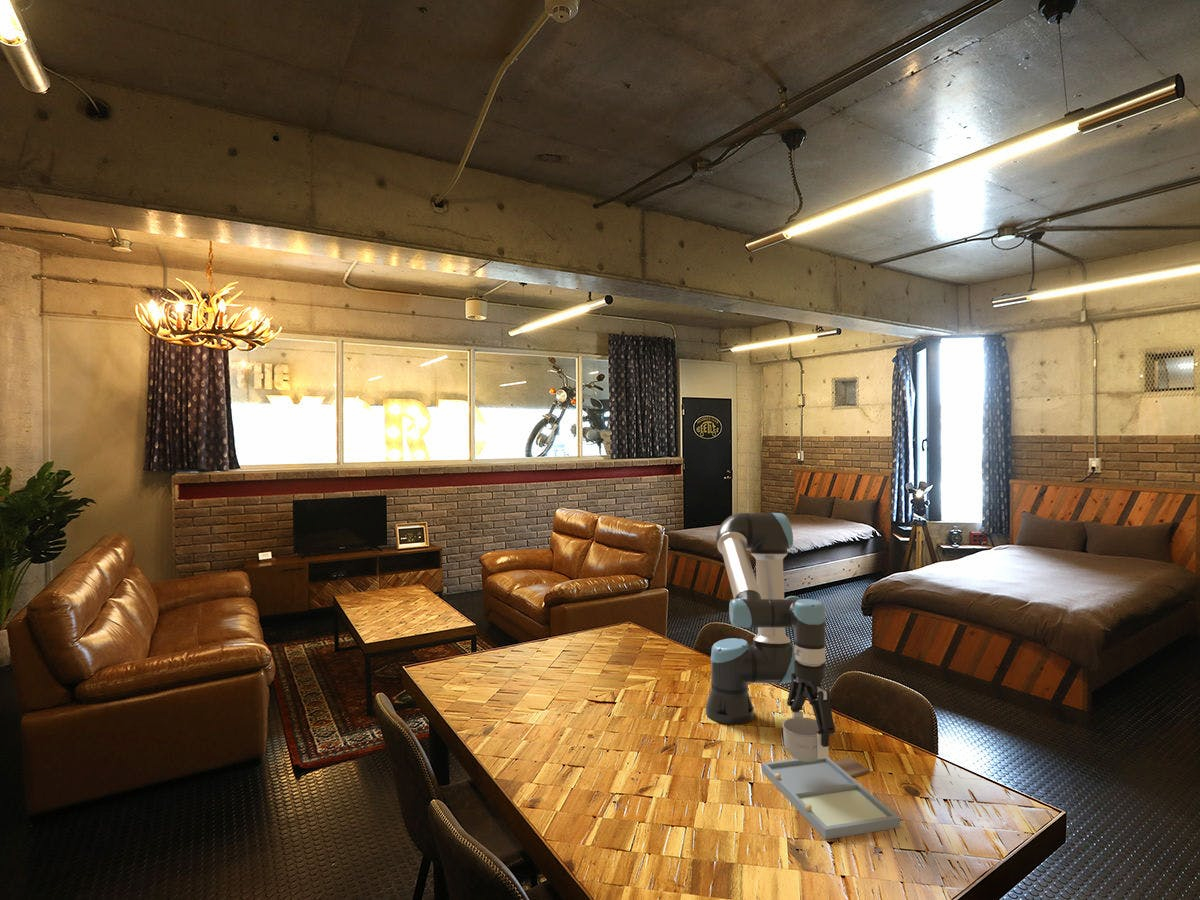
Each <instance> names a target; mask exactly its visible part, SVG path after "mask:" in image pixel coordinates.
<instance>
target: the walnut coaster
mask: <svg viewBox="0 0 1200 900" xmlns="http://www.w3.org/2000/svg"><path fill="white" fill-rule="evenodd" d="M833 762H835V763H836V764H837V765H838V766H839V767H841V768H842V769H843V770H844V771H845V772H846V773H848V774H849V775H850V776H851V777H852V778H854V777H857V776H860V775H863V774H864V775H865V774H867V773H870V769H869V768H867V767H866V766H864V765H863V764H861V763H859V762H858V761H856V760H854V759H853V758H851V757H849V756H848V757H845V758H841V759H838V760H834V761H833Z"/></svg>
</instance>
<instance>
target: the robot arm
mask: <svg viewBox="0 0 1200 900" xmlns="http://www.w3.org/2000/svg"><path fill="white" fill-rule="evenodd" d="M793 534H794V532H793V528H792V524H791V522H790V520H789V518H788V516H787V515H785V514H784V513H780V512H738V513H734V514H731V515H730V516H728V517H727V518H726V519H724V521H723V522H722V523H720V526H719V527H718V529H717V533H716V536H715V537H716V538H715V543H716V546H717V551H718V552H719V554H721V555H722V557H723V558H722V559H723V561H724V566H725V569H726V573H727V577H728V581H729V585H730V590H731V593H732V597H733V598H732V599H730V601H729V606H728V607H729V608H728V615H729V622H730V624H731V625H732V626H733V627H737V628H746V629H751V628H754V629H755V628H757V633H756V635H755V636H754V637H753V639H752V640H753V644H749V643H748V641H747V640H746V639H743V638H737V637H736V638H734V637H733V638H732V637H731V638H724V639H720V640H718V641H716V642H714V643H713V645H712V646H711V652H710V653H711V655H710V667H711V669H710V674H711V676H710V677H711V678H710V679H711V680H710V683H711V685H710V687H711V688H710V692H709V694H708V697H707V700H706V704H705V715H706V716H707V717H708V718H709V717H710V720H713V721H715V722H718V723H721V724H726V725H727V724H728V725H741V724H747V723H749V722H751V721H752V720H753V719H754V717H755V716H754V715H755V713H754V712H755V711H754V706H753V703H752V700H751V696H750V693H749V684H765V683H766V684H777V685H779V684H788V683H790V687H789V691H788V697H787V701H786V704H787V707H790V711H791V713H792V715H791V718H796V717H802V718H804V712H803V711H804V704H805V702H806V700H808V703H809V705H810V706H811V707H812V711H813V714H814V717H815V720H816V721H817V725H818V728H819V731H818V732H817V758H818V759H824V758H830V757H829V753H830V752H829V749H830V747H829V746H830V735H831V734H835V733H836V728H835V722H834V717H833V712H832V707H831V700H830V695H831V694H830V690H824V689H823V688H822V687H823V686H822V681H823V680H824V679H826V664H825V662H826V618H827V615H826V607H825V604H824V603H823V602H822V601H820V600H817V599H813V598H812V599H810V598H800V597H798V596H795V595H790V596H787V597H785V588H784V587H785V585H784V580H785V579H784V559H785V557H787V555H788V550H790V549H792V548H793V546H794V535H793ZM747 549H750V554H751V556H753V557H754V559H755V571H756V573H754V569H753V567H752V563H751V560H750V556H749V553H748V551H747ZM787 628H789V629H791V628H792V629H793V632H794V640H793V641H794V645H793V644H791V639H790V638H789V637H788V636H787V635H786V629H787Z"/></svg>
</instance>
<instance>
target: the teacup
mask: <svg viewBox="0 0 1200 900" xmlns="http://www.w3.org/2000/svg"><path fill="white" fill-rule="evenodd" d="M781 725H782V730H783V731H782V733H783V744H784V745H783V746H784V747H785V750H786V752H788V754H789V755H791V757H793V759H797V760H800V761H803V762H813V761H817V760H818V758H817V732H818V731H819V728H818V725H817V721H816V719H813V718H810V717H803V718H802V717H796V718H792V717H790V718H787V719H785V720H783V722H782V724H781Z"/></svg>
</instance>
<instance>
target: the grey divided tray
mask: <svg viewBox="0 0 1200 900" xmlns="http://www.w3.org/2000/svg"><path fill="white" fill-rule="evenodd" d="M761 772H762V773H763V775H764V776H765V777H767V779H768V780H769V781H770V782H772V783H771V784H773V785H774V786H775V788H777V789H778V791H780V793H781V794H782V795H783V796H784V798H786V799H787V800H788V801H789V802H790V803H791V804H792V806H793V807H794V808H795V809H796V810H797V811H798V812H799V814H801V815H802V817H803V818H804V819H805V820H806V821H808V823H809V824H810V825H811V826H812V827H813V828H814V830H816V832H817V833H818V834H819V835H820V836H821V837H822V838H823V839H824V840H831V839H837V838H844V837H851V836H855V835H862V834H867V833H874V832H881V831H887V830H892V829H893V830H894V829H898V828H901V817H900V816H899V815H897V814H896V813H895V812H894V811H893V810H892V809H890V808H889V807H888V806H887V805H885V803H883V802H882V801H880V799H878V798H877V796H875V795H874V794H872V792H870V791H869V790H868V789H867V788H865V786H863V785H862V784H861V783H860V782H858V780H856V779H855V778H854V777H851V776H850V775H849V774H848V773H846V772H845V771H844V770H843V769H842V768H841V767H839V766H838V765H837V764H836V763H835V762H834V761H833V759H831V758H830V757H829V758H824V759H818V760H817V761H813V762H803V761H800V760H797V759H795V758H791V759H785V760H784V759H783V760H774V761H767V762H761Z"/></svg>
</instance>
